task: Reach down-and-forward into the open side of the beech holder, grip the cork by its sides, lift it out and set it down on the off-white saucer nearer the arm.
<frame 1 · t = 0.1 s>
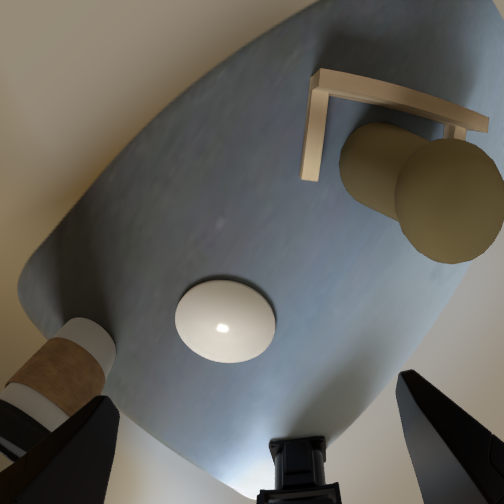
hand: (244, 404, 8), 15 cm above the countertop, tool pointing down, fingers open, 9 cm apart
cork: (380, 165, 20), on the countertop
coffee cup: (90, 340, 27), on the countertop
holder: (381, 165, 19), on the countertop
saucer: (224, 323, 25), on the countertop
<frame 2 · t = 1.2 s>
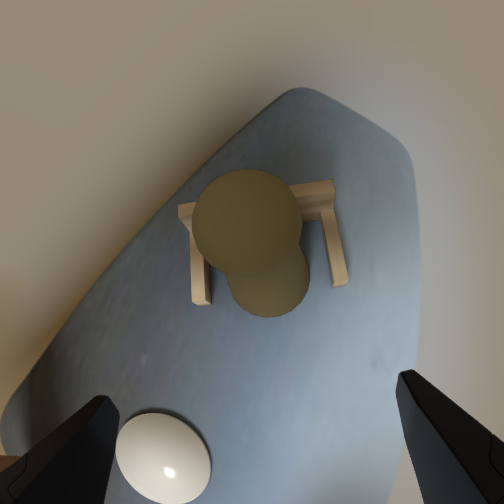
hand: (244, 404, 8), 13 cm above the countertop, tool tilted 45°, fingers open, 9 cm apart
cork: (269, 277, 24), on the countertop
holder: (268, 277, 23), on the countertop
saucer: (161, 460, 20), on the countertop
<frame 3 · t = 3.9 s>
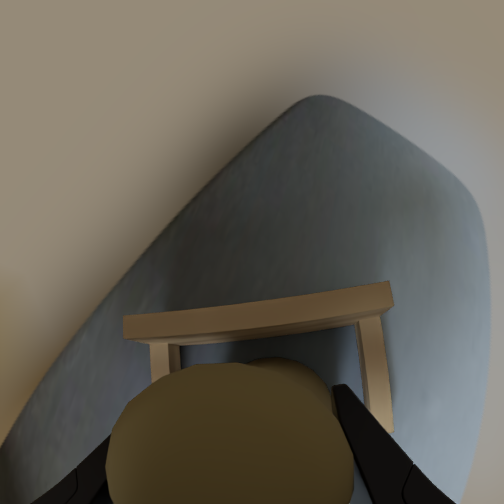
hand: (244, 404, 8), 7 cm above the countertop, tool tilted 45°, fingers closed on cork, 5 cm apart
cork: (273, 415, 14), on the countertop, touching gripper
holder: (272, 416, 14), on the countertop
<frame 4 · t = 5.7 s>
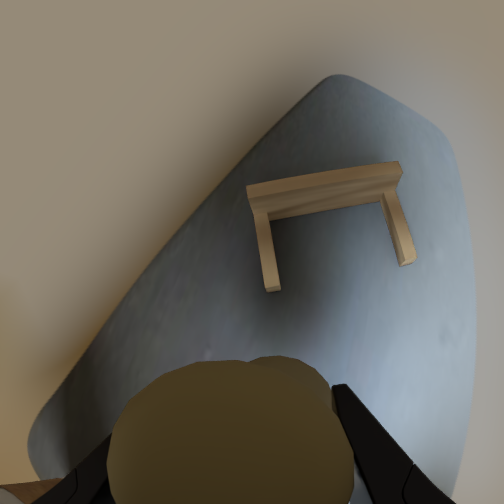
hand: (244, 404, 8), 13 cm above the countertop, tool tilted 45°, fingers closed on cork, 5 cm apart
cork: (274, 414, 14), point 6 cm above the countertop, touching gripper
coffee cup: (98, 500, 18), on the countertop
holder: (338, 258, 23), on the countertop
when the fingers open (8 cm above the countertop, at t = 7.5 s): cork stays where it is, resting on saucer.
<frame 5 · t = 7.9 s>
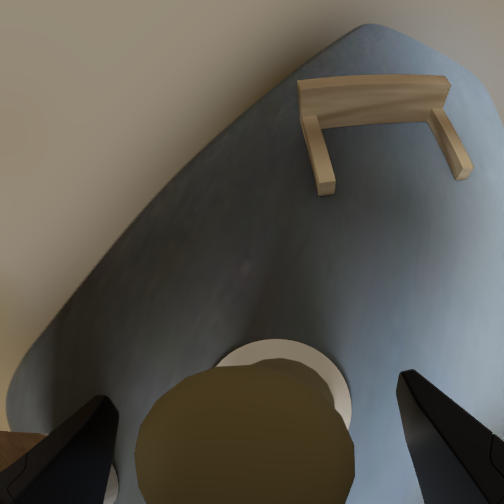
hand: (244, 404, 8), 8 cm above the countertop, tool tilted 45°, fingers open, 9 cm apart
cork: (277, 413, 15), resting on saucer
coffee cup: (85, 471, 15), on the countertop
holder: (393, 167, 19), on the countertop
saucer: (274, 412, 15), on the countertop
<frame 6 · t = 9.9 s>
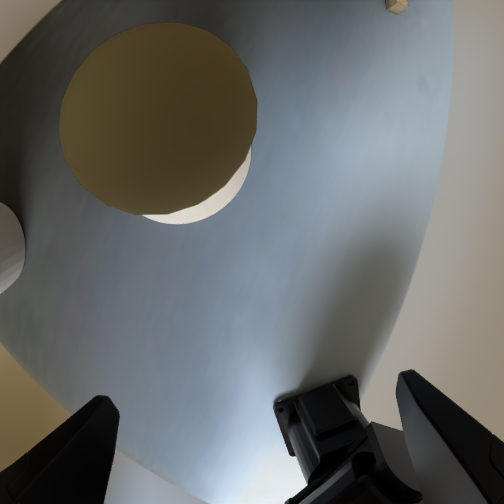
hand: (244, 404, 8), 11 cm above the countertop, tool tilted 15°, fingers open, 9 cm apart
cork: (180, 152, 17), resting on saucer
saucer: (178, 152, 17), on the countertop
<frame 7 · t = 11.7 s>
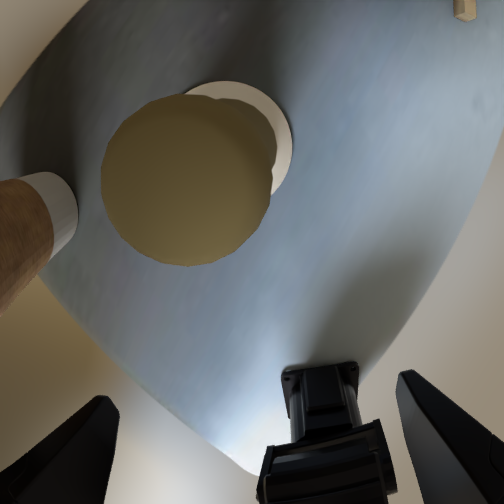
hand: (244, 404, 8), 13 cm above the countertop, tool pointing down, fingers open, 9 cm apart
cork: (225, 148, 18), resting on saucer
coffee cup: (50, 208, 20), on the countertop
saucer: (223, 147, 18), on the countertop
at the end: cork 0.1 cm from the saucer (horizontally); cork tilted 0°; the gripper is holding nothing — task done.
